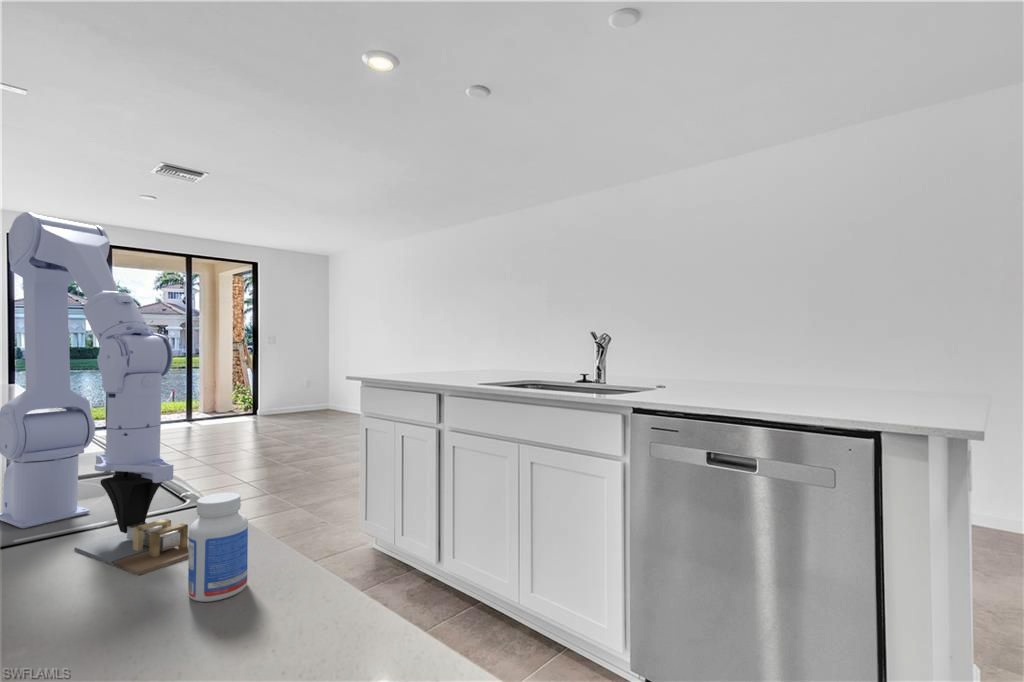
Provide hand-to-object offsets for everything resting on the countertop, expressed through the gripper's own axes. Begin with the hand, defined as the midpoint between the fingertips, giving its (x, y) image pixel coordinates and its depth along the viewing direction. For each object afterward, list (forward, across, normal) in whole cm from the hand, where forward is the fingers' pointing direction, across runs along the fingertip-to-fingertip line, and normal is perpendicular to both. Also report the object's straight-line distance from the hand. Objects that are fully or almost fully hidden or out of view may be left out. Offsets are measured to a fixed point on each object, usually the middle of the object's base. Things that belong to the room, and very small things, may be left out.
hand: (131, 530), depth 67 cm
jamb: (+1, +9, 0) cm, 9 cm away
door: (+1, +2, 0) cm, 2 cm away
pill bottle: (+2, +23, -3) cm, 23 cm away
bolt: (+1, +5, 0) cm, 5 cm away
